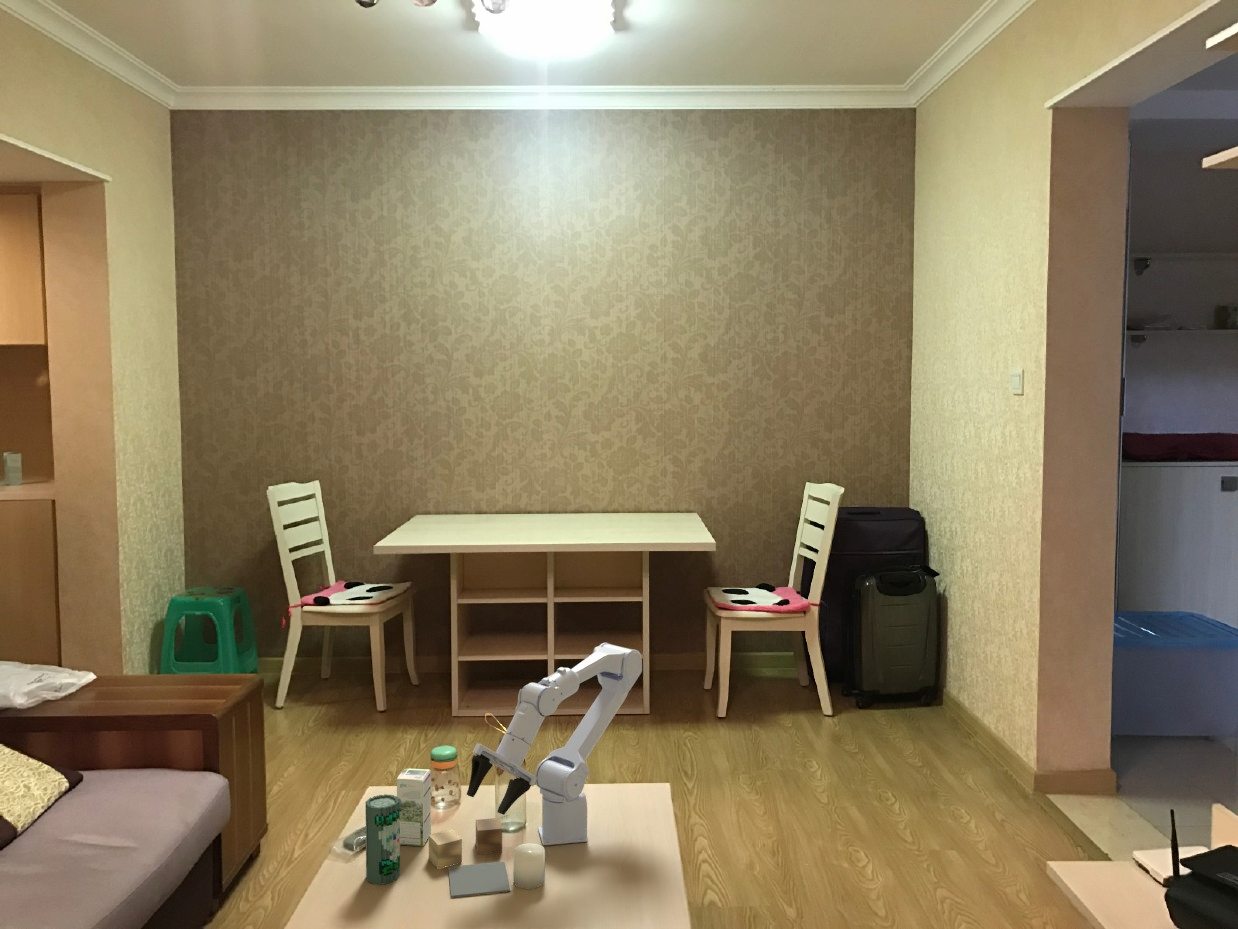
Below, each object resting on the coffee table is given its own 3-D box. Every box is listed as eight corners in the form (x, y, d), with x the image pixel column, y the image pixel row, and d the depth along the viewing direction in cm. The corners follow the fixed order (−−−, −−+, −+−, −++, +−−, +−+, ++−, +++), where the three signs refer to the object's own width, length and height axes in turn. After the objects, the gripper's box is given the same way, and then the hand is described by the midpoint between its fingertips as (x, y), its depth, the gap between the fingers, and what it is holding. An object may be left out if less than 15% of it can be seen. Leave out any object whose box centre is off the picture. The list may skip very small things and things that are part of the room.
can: (390, 886, 181) (390, 809, 180) (361, 882, 183) (360, 806, 181) (404, 870, 187) (403, 796, 186) (375, 867, 188) (375, 793, 187)
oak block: (452, 852, 195) (452, 829, 194) (461, 863, 191) (461, 839, 190) (428, 859, 192) (428, 835, 192) (438, 869, 188) (438, 845, 188)
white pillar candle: (542, 871, 188) (542, 842, 187) (546, 887, 182) (546, 856, 181) (511, 874, 186) (512, 844, 186) (515, 890, 180) (515, 859, 180)
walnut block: (499, 841, 200) (499, 817, 200) (502, 852, 195) (502, 828, 195) (475, 843, 199) (475, 819, 199) (477, 854, 194) (477, 830, 194)
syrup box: (431, 834, 202) (431, 768, 201) (423, 847, 197) (423, 779, 195) (405, 833, 203) (405, 766, 202) (396, 846, 197) (395, 777, 196)
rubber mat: (504, 863, 190) (504, 861, 190) (510, 892, 180) (510, 889, 180) (448, 868, 188) (448, 866, 188) (451, 898, 177) (450, 895, 177)
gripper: (498, 724, 185) (464, 790, 180) (554, 758, 191) (523, 824, 185) (483, 721, 191) (449, 786, 185) (538, 755, 197) (507, 818, 191)
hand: (485, 805), depth 186 cm, fingers open, 7 cm apart
